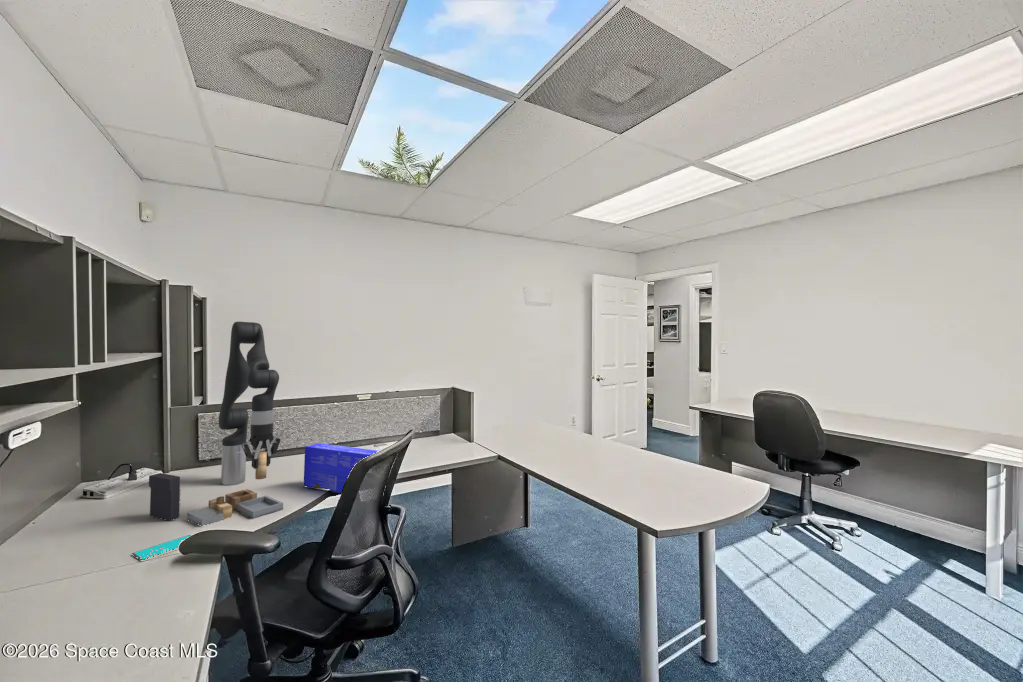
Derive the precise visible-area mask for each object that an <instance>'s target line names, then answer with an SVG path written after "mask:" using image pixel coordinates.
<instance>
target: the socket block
mask: <svg viewBox="0 0 1023 682" xmlns="http://www.w3.org/2000/svg"><path fill="white" fill-rule="evenodd" d="M255 498H258V492H255V491H253V490H251V489H249V488H245V489H240V490H238V491H234V492H229V493H226V494H225V496H224V502H226V503H228V504H230V505H232V510H236V504H237V503H240V502H244V501H248V500H251V499H255Z"/></svg>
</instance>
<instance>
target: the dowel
mask: <svg viewBox="0 0 1023 682" xmlns="http://www.w3.org/2000/svg"><path fill="white" fill-rule="evenodd" d="M257 459H258V468H257V469H255V473H254V474H255V475H254V476H255V480H263V479H266V478H267V468H268V466H267V451H264V450H260V452H259V453H258V457H257Z"/></svg>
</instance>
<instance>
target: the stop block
mask: <svg viewBox="0 0 1023 682" xmlns="http://www.w3.org/2000/svg"><path fill="white" fill-rule="evenodd" d="M207 504H208V506H207V507H211V508H214V509H216V510H219V511H221V512H224V520H225V519H228V517H229V518H232V517H233V508H232V505H230V504H228V503H226V502H225V496H218V497H216V498H212V499H209V500H208V503H207ZM231 516H232V517H231Z"/></svg>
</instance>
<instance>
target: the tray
mask: <svg viewBox="0 0 1023 682" xmlns="http://www.w3.org/2000/svg"><path fill="white" fill-rule="evenodd" d="M236 510H237V512H238V511H239V513H240V512H241V514H242V513H243V514H242V515H244V514H245V516H246V515H247V516H246V517H249V518H251V519H253V520H254V519H256V518H257V519H258V518H261V517H263V516H267V515H270V514H274V513H276V512H280V511H283V510H284V502H282V501H280V500H277V499H275V498H273V497H270V496H268V495H262V496H260V497H257V498H255V499H251V500H248V501H244V502H240V503H237V504H236V509H235V511H236Z"/></svg>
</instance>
